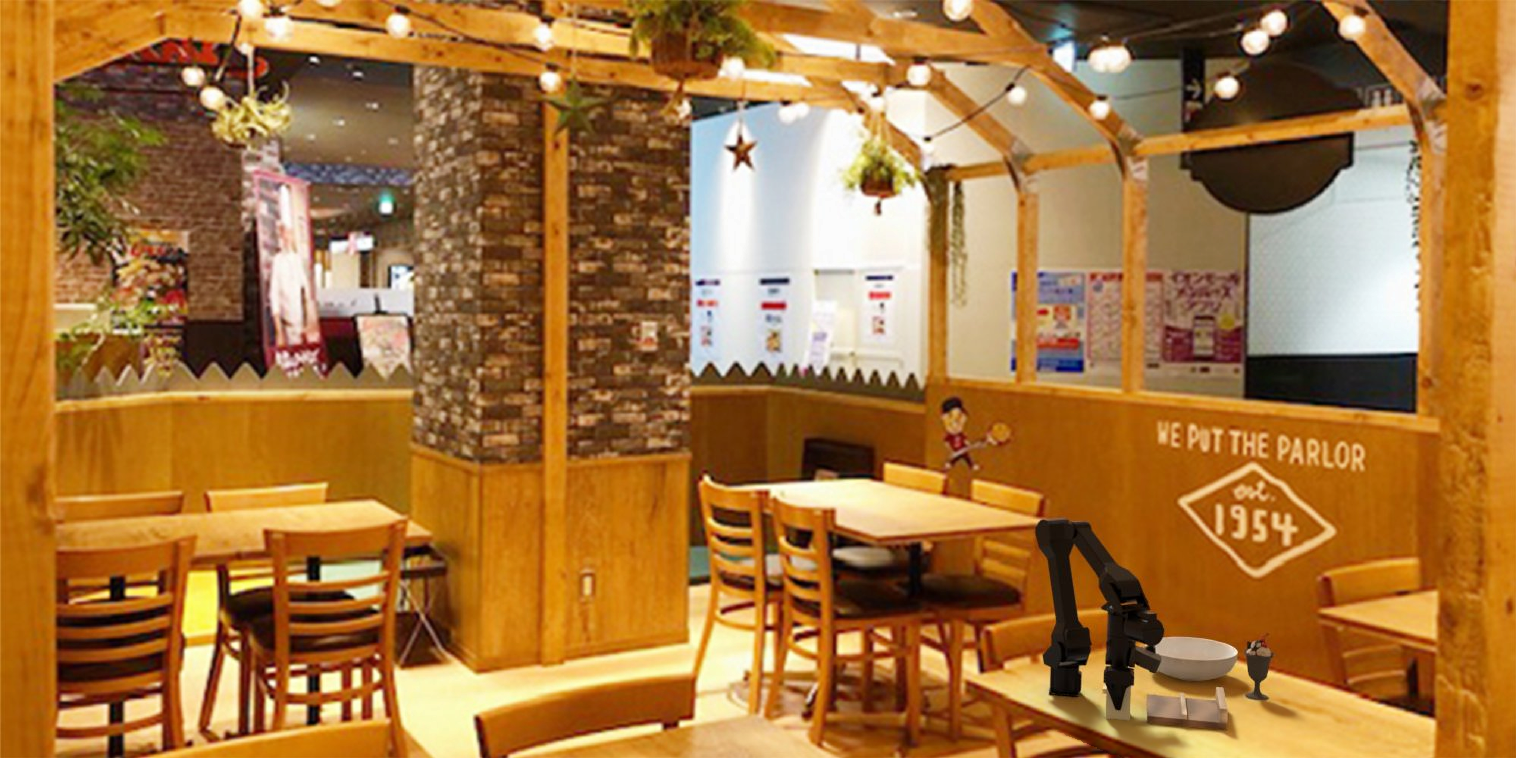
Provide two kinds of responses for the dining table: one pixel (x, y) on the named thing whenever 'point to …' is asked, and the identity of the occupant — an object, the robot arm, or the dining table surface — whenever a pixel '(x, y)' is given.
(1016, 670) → the dining table surface
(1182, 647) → the serving bowl
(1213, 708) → the cleat board
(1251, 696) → the sundae
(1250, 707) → the dining table surface
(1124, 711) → the cabinet block
